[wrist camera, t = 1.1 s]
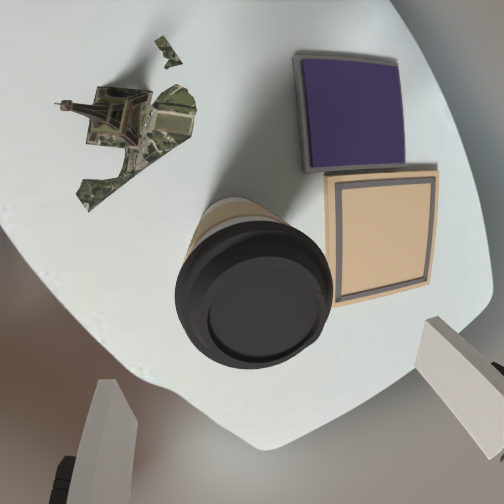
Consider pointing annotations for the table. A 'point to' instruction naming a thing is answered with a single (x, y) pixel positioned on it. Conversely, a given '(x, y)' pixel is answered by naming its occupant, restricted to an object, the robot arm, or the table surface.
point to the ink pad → (349, 113)
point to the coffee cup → (252, 287)
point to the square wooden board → (379, 232)
